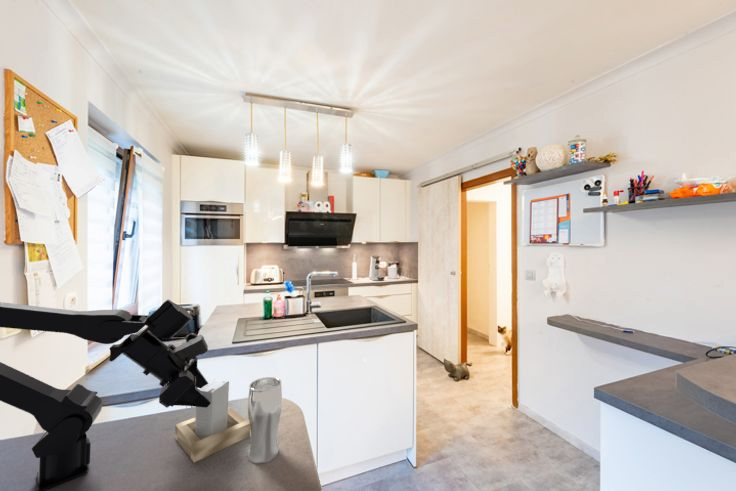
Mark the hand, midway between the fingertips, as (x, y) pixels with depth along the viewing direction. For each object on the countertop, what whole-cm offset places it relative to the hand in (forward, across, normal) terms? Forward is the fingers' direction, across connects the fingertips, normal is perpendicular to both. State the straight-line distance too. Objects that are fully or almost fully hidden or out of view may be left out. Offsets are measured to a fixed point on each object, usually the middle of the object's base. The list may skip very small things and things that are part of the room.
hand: (208, 396), depth 69 cm
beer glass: (+14, -11, -1) cm, 18 cm away
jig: (+8, 0, +6) cm, 10 cm away
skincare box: (+8, 0, +6) cm, 10 cm away
